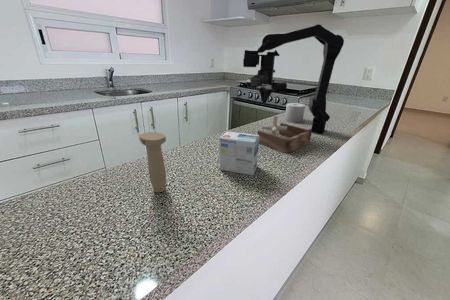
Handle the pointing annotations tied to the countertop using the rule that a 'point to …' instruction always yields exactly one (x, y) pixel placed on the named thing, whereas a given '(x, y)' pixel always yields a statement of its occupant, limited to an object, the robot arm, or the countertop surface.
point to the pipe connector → (274, 126)
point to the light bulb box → (239, 152)
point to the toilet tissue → (294, 112)
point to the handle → (155, 159)
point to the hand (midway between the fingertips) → (264, 103)
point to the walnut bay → (295, 141)
